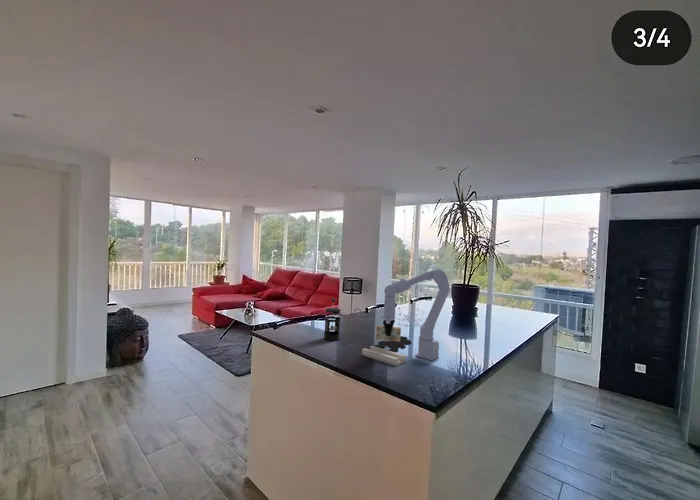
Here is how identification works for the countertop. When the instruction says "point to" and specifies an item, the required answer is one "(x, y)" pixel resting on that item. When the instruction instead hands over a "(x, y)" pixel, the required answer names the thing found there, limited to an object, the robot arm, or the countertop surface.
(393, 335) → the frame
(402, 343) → the figurine
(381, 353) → the ledge
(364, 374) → the countertop surface
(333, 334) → the french press
